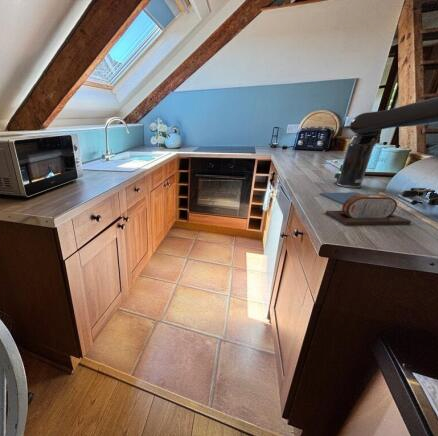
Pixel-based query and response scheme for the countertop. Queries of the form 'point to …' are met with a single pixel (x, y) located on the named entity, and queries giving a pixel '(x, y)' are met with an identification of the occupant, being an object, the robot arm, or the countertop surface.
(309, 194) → the countertop surface
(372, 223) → the stand
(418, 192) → the robot arm
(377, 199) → the tin
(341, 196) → the mat
